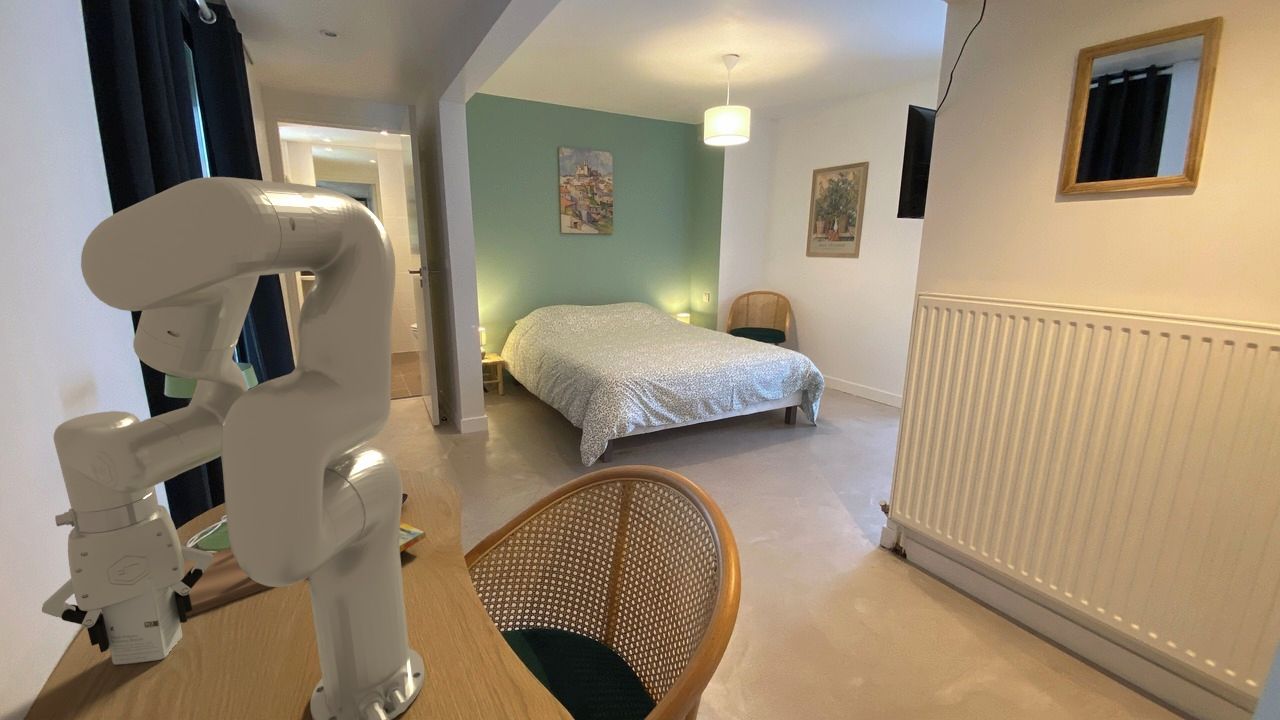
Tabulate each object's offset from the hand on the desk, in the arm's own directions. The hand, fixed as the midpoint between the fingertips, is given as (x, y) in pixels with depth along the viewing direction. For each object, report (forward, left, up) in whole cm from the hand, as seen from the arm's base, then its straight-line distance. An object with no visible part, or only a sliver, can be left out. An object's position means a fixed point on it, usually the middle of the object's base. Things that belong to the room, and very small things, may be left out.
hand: (145, 630), depth 71 cm
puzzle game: (+7, -28, -4) cm, 29 cm away
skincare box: (0, 0, -3) cm, 3 cm away
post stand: (+12, -8, -3) cm, 15 cm away
